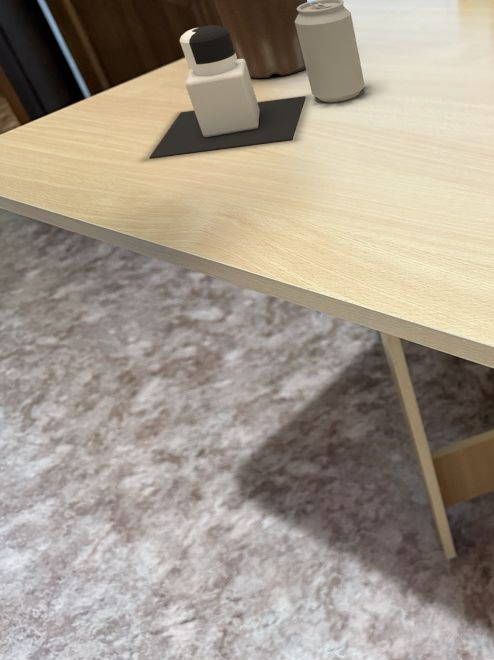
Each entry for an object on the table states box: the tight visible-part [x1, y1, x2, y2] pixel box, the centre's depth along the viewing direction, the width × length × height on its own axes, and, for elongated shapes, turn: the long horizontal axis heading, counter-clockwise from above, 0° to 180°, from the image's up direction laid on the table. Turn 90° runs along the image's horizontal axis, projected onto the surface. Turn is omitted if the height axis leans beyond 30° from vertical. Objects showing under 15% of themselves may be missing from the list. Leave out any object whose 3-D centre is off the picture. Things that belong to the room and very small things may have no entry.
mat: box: [148, 95, 306, 159], centre depth 92 cm, size 18×16×1 cm
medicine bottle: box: [179, 24, 260, 138], centre depth 89 cm, size 7×7×12 cm
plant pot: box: [213, 0, 308, 79], centre depth 107 cm, size 16×16×16 cm
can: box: [295, 0, 365, 103], centre depth 94 cm, size 8×8×12 cm
